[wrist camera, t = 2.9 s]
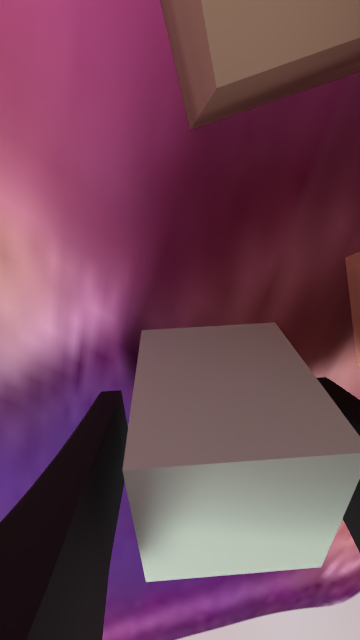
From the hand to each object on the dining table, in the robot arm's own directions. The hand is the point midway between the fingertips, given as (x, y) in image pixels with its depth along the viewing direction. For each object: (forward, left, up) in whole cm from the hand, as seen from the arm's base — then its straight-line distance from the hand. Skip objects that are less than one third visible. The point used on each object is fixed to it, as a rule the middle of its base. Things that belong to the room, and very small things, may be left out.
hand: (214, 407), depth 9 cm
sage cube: (0, 0, -2) cm, 2 cm away
